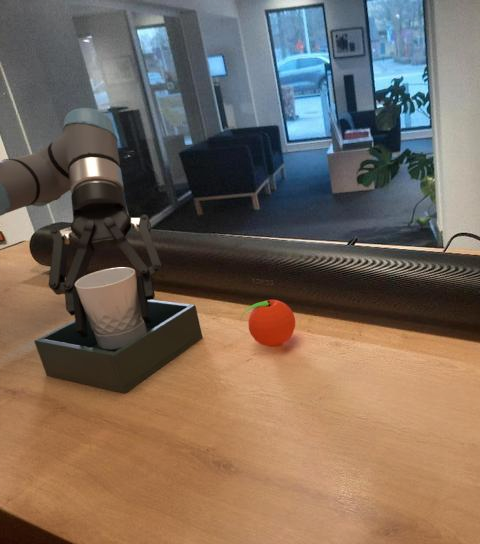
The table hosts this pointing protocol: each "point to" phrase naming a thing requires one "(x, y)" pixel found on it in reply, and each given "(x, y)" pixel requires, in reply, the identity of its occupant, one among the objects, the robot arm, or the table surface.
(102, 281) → the white cup
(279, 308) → the clementine
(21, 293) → the table surface
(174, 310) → the open dark box
